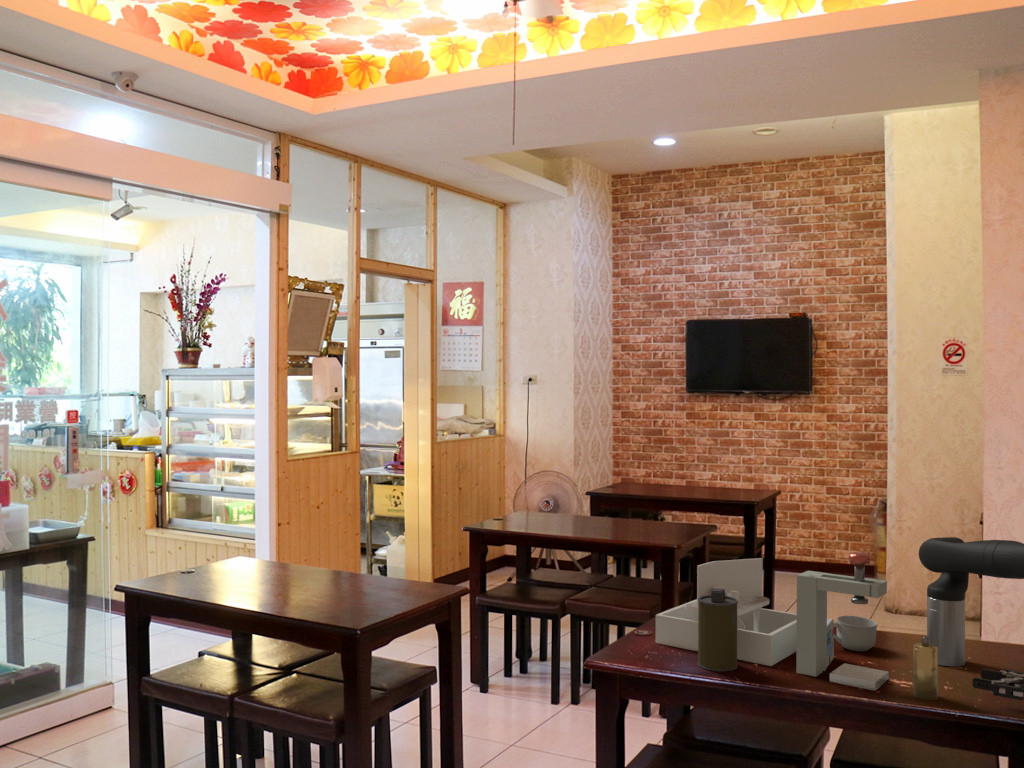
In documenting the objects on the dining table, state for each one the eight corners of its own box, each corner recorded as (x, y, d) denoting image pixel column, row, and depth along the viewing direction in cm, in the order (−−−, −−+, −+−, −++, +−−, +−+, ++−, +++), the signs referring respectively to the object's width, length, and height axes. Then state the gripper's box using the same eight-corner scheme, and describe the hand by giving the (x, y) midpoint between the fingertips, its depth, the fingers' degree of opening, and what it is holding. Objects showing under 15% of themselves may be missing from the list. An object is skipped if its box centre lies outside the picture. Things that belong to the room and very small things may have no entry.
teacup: (868, 643, 259) (868, 615, 260) (883, 654, 249) (883, 625, 249) (819, 642, 260) (820, 614, 260) (832, 653, 249) (832, 624, 249)
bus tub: (699, 624, 280) (699, 598, 280) (808, 643, 258) (809, 615, 258) (655, 642, 258) (655, 614, 258) (771, 666, 237) (771, 635, 237)
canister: (734, 673, 230) (735, 595, 230) (694, 668, 234) (694, 591, 234) (740, 662, 240) (740, 586, 241) (701, 657, 244) (701, 583, 244)
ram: (852, 599, 229) (852, 551, 229) (872, 602, 226) (873, 554, 226) (846, 602, 225) (846, 554, 225) (866, 605, 222) (866, 556, 222)
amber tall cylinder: (916, 691, 218) (916, 633, 218) (940, 695, 214) (939, 636, 214) (910, 697, 213) (910, 637, 214) (934, 701, 210) (934, 641, 210)
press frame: (807, 665, 238) (808, 570, 238) (886, 681, 225) (887, 580, 225) (796, 672, 231) (796, 575, 231) (877, 689, 219) (877, 586, 219)
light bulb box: (827, 668, 236) (827, 626, 236) (800, 664, 239) (800, 623, 239) (834, 657, 245) (834, 618, 245) (808, 654, 248) (808, 614, 248)
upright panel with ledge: (742, 663, 241) (742, 575, 241) (674, 647, 255) (674, 564, 255) (789, 642, 261) (789, 561, 262) (723, 629, 276) (723, 552, 276)
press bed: (844, 671, 233) (844, 663, 233) (888, 679, 226) (888, 671, 226) (829, 681, 224) (829, 673, 225) (875, 690, 218) (875, 682, 218)
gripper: (1063, 667, 203) (983, 654, 213) (1054, 683, 191) (970, 668, 202) (1063, 701, 203) (983, 686, 213) (1054, 718, 191) (970, 702, 201)
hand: (977, 677), depth 207 cm, fingers open, 8 cm apart
